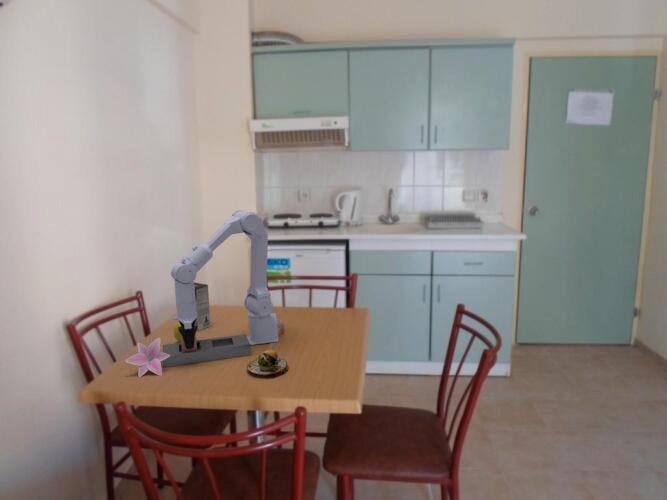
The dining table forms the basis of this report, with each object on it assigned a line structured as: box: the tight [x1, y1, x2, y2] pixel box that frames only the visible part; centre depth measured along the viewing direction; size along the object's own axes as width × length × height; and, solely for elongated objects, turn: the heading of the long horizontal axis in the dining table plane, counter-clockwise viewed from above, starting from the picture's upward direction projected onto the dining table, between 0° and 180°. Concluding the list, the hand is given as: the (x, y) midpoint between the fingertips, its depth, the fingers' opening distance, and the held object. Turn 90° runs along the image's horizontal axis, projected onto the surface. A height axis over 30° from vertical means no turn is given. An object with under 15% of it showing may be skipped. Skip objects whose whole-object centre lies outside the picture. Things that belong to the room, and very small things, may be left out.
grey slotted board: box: [161, 333, 252, 368], centre depth 154 cm, size 26×10×4 cm, turn 108°
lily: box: [124, 337, 170, 378], centre depth 143 cm, size 11×11×9 cm
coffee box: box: [194, 281, 211, 332], centre depth 181 cm, size 9×6×16 cm
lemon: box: [173, 321, 181, 343], centre depth 165 cm, size 6×6×8 cm
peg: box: [180, 333, 197, 351], centre depth 152 cm, size 4×4×7 cm
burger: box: [246, 345, 289, 378], centre depth 142 cm, size 12×12×8 cm
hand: (189, 344), depth 152 cm, fingers open, 7 cm apart
